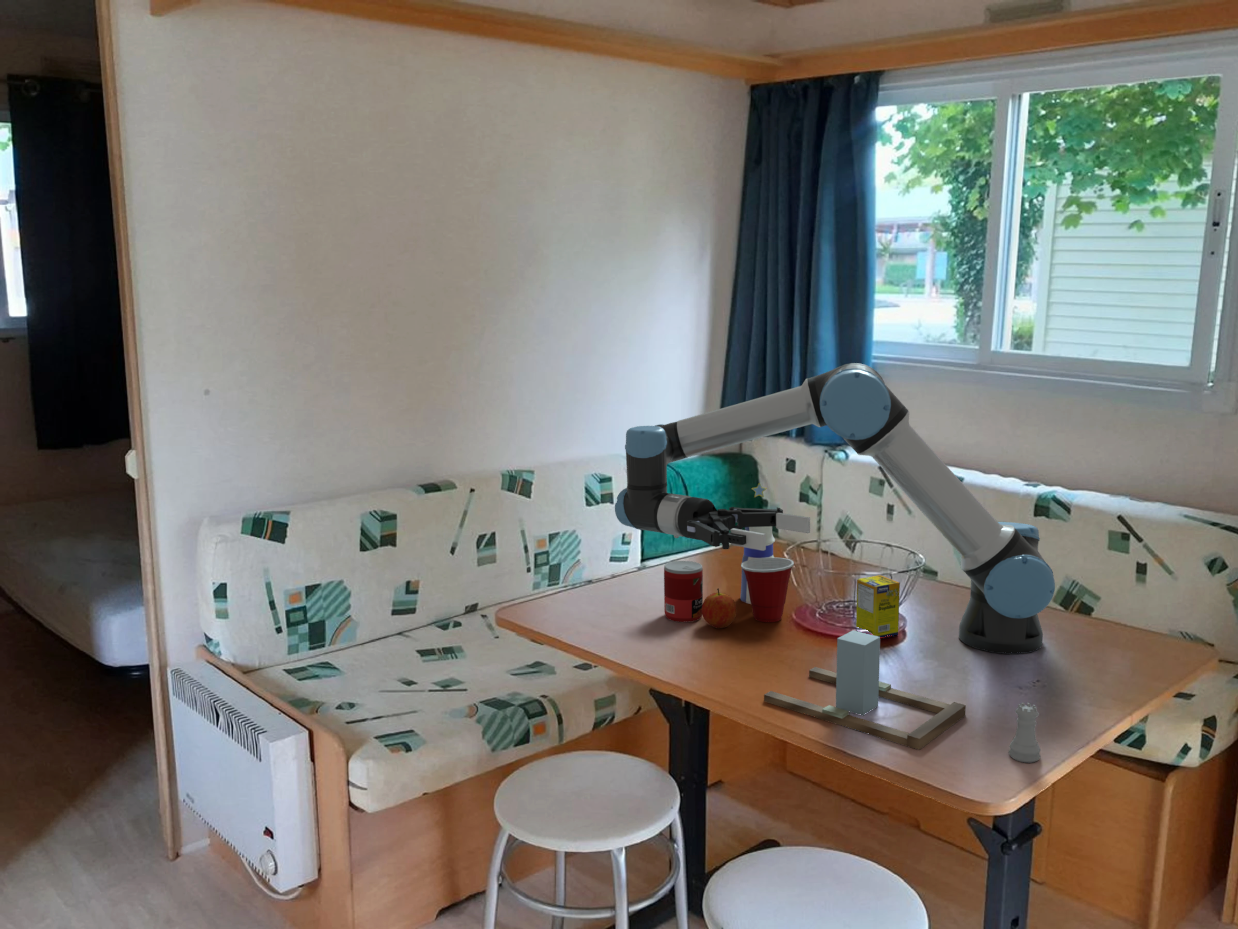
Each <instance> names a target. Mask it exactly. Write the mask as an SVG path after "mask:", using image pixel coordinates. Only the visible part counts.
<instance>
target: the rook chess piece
mask: <svg viewBox="0 0 1238 929" xmlns="http://www.w3.org/2000/svg"><path fill="white" fill-rule="evenodd" d="M1025 704H1026V703H1025V702H1020V703H1018V705H1017V708H1016V709H1015V710H1014V711H1015V713H1016V715H1017V719H1015V721H1016V724H1017V727H1016V732H1015V736H1014V737H1013V738H1012V741H1010V744H1009V746H1008V747H1009V750H1008V755H1009V756H1010V757H1011V758H1012V759H1013V760H1014V761H1017V762H1020V763H1023V764H1024V763H1025V764H1033V763H1036V762H1038V760H1040V759H1041V754H1040V752H1041V751H1042V750H1041V746H1040V745H1039V743H1038V740H1037V738H1036V725H1037V724H1038V723H1037V721H1036V718H1037V717H1038V716H1039V715H1040V713H1039V712H1038V710H1037V709H1038V708H1037V705H1035V704H1032V703H1029V702H1027V704H1026V705H1025Z"/></svg>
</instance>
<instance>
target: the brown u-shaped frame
mask: <svg viewBox="0 0 1238 929" xmlns="http://www.w3.org/2000/svg"><path fill="white" fill-rule="evenodd" d="M808 677H809V678H813V679H816V680H821V681H823V682H827V683H830V684H833V683H834V684H833V685H836V677H837V671H836V672H834V671H831V670H828V669H825V668H821V667H817V666H814V667H813V668H810V669H809V671H808ZM879 696H880V698H882V697H883V699H886V700H889V699H890V701H893V702H897V703H901V704H903V705H907V706H911V707H913V708H918V709H921V710H925V711H928V712H931V713H935V715H933V716H932V717H931V718H929V719H928V720H926V721H925V722H924V723H922V724H921V725H920V726H918V727H917V728H916V729H914V730H912V731H911V732H906V731H904V730H900V729H897V728H893V727H890V726H887V725H883V724H881V723H877V722H873V721H871V720H868V719H864V718H862V717H857V716H854V715H851V714H849V713H850V712H849V711H847V710H843V709H840V708H837V707H836V706H833V705H830V704H828V705H827V706H821V705H818V704H815V703H811V702H809V701H805V700H802V699H799V698H795V697H792V696H788V695H786V694H782V693H779V692H775V691H773V690H770V691H768V692H766V693H764V695H763V702H765V703H768V704H770V705H771V704H772V705H774V706H778V707H781V708H784V709H787V710H790V711H794V712H797V713H799V714H803V713H805V714H804V715H806V714H808V715H807V716H809V715H811V716H810V717H812V716H815V717H816V719H819V718H820V719H819V720H822V719H823V721H825V720H826V721H825V722H828V721H829V723H831V722H832V723H833V724H835V723H836V724H835V725H838V724H839V725H838V726H841V725H842V726H841V727H844V726H846V727H845V728H847V727H849V728H848V729H851V728H852V729H851V730H854V729H856V730H855V731H857V730H859V731H858V732H860V731H862V732H861V733H863V732H865V733H864V734H866V733H869V734H868V735H870V736H872V737H876V738H879V737H880V738H879V739H882V738H883V739H882V740H886V741H889V740H890V741H889V742H892V741H893V742H892V743H895V742H896V743H895V744H898V743H899V744H898V745H901V744H902V746H906V747H908V746H909V748H911V747H912V748H911V749H914V748H915V750H917V749H918V751H920V750H921V749H923V748H924V747H925V746H927V745H928V744H930V743H931V742H932V741H933V740H935V739H937V738H938V737H939V736H941V735H942V734H943V733H944V732H945V731H947V730H948V729H950V728H951V727H952V726H954V725H955V724H956V723H958V722H959V721H960V720H961V719H963V718H964V717H966V708H967V707H966V706H967V704H963V703H959V702H957V701H956V702H955V701H952V703H947V702H943V701H940V700H937V699H936V700H935V699H932V698H929V697H924V696H922V695H918V694H915V693H910V692H908V691H905V690H900V689H896V688H892V684H890V683H886V682H883V681H880V680H879V695H878V697H879ZM815 717H814V718H815ZM922 747H923V748H922Z"/></svg>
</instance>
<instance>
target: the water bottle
mask: <svg viewBox="0 0 1238 929" xmlns="http://www.w3.org/2000/svg"><path fill="white" fill-rule="evenodd" d="M767 489H768V488H767V487H762V485H761V483H760V482H759V483H758V484H757V486H756V487H752V488H751V490H753V491H754V492H755V493H754V497H753V498H756V497H758V496H760V497H762V498H764V497H765V496H764V491H766V490H767ZM744 530H746V531H752V532H758V533H764V534H766V550H764V551H762V550H757V549H751V548H746V547H743V555H742V559H741V563H743V562H745V561H748V560H751V559H757V558H769V557H774V558H775V556H774V543H775V541H776V538H775V537H774V535H773V526H769V527H744ZM740 580H741V586H740V596H739V597H740V601H741V602H743V603H746V604H748V605H749V604H750V605H751V601H750V596H749V590H748V584H747V579H746V576H745V573H744V570H743V569H742V568H741V579H740Z"/></svg>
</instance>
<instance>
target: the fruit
mask: <svg viewBox="0 0 1238 929" xmlns="http://www.w3.org/2000/svg"><path fill="white" fill-rule="evenodd" d="M716 591H717V592H713V593H711V594H709V595H707V596H706V597H705V598H704V600H703V605H702V618H703V620H704V621H705V622H706V623H707V624H708V625H710V626H711V627H713V628H716V629H724V628H727V627H729V626H730V625H731V624H732V623H733V622H734V620H735V619H736V617H737V605H736V602H735V600H734V599H733V597H731V595H729V594H727V593H722V592H720V588H717V589H716Z"/></svg>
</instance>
